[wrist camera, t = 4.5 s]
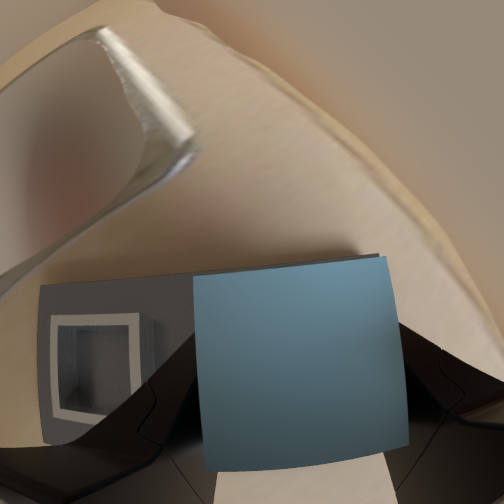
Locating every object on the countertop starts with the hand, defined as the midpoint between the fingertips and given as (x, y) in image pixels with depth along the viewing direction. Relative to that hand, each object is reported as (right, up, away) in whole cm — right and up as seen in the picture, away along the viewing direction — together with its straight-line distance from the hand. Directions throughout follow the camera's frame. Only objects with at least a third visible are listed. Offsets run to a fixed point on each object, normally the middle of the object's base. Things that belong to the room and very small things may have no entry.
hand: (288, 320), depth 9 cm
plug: (0, -2, +2) cm, 3 cm away
